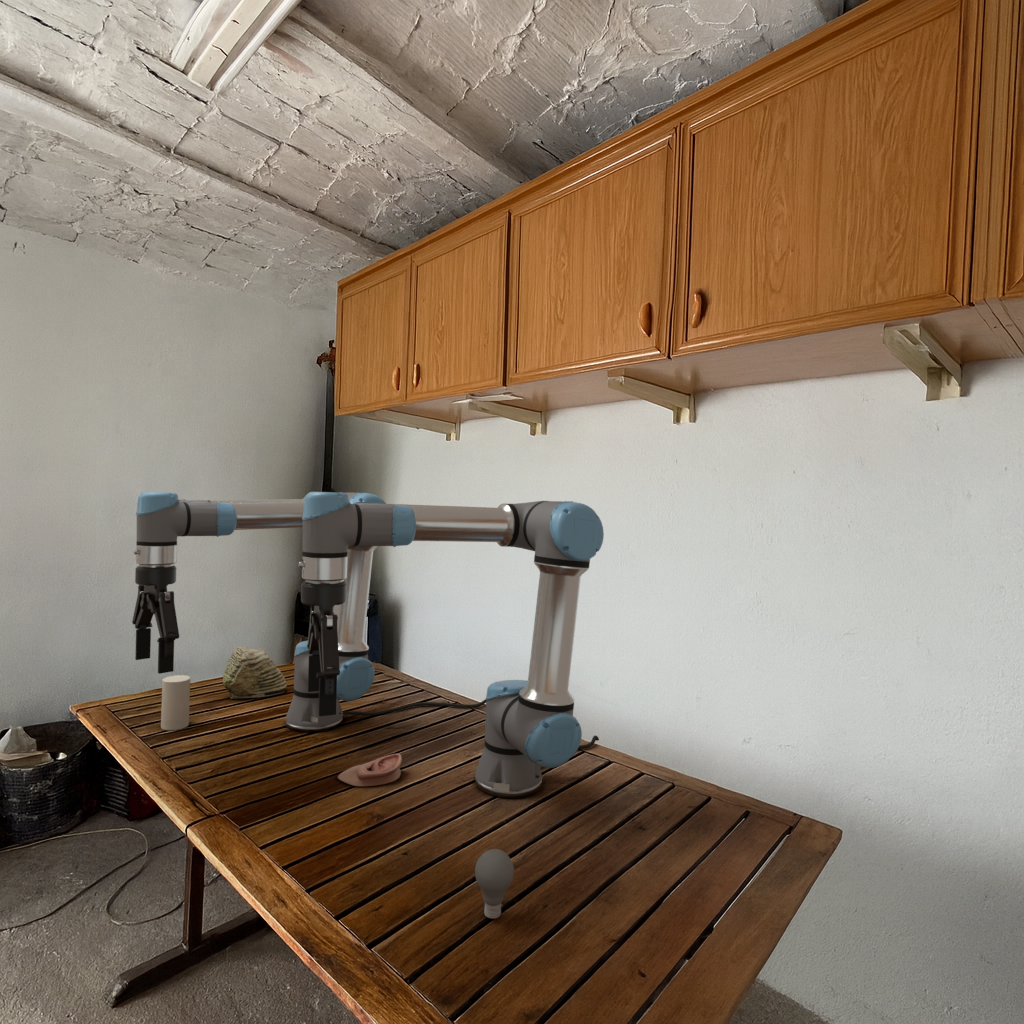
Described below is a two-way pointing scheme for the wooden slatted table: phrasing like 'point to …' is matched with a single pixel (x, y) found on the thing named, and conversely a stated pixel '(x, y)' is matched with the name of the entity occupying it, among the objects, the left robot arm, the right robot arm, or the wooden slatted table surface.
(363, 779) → the anatomical model
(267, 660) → the fossil
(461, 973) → the wooden slatted table surface
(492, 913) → the light bulb
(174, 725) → the cylinder
